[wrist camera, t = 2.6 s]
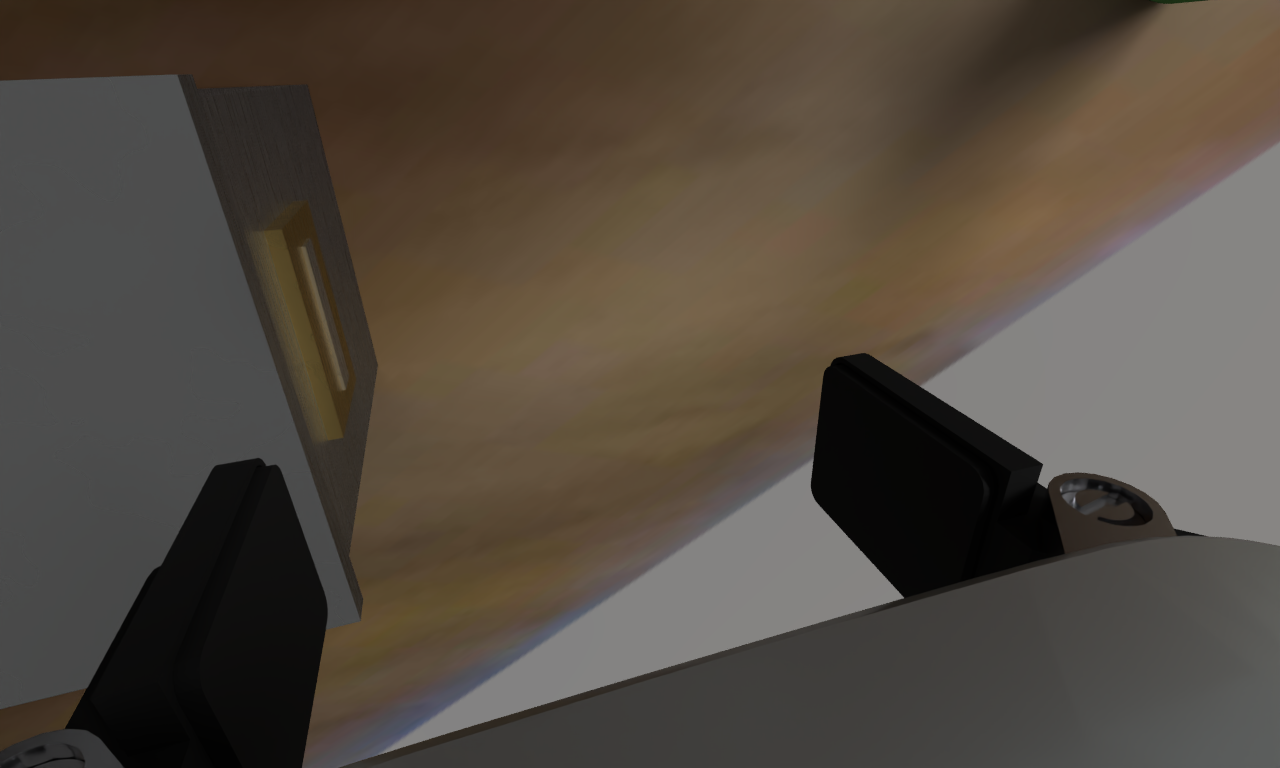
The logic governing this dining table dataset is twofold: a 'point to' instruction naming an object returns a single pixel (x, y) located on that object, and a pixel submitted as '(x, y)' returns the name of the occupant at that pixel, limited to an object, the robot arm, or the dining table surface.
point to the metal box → (163, 346)
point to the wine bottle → (1174, 1)
